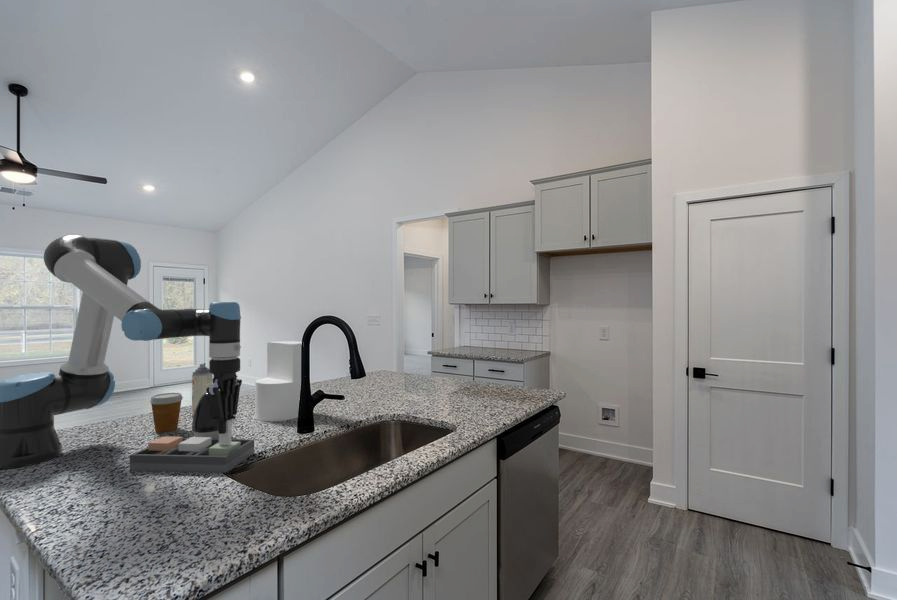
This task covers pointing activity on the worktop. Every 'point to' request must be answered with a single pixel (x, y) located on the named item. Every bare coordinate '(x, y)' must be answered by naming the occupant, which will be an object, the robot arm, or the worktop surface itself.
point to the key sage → (223, 449)
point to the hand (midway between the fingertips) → (225, 444)
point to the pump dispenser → (204, 420)
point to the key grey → (194, 444)
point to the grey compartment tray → (191, 459)
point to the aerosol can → (200, 384)
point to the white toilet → (279, 383)
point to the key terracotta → (164, 443)
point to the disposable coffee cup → (166, 411)
